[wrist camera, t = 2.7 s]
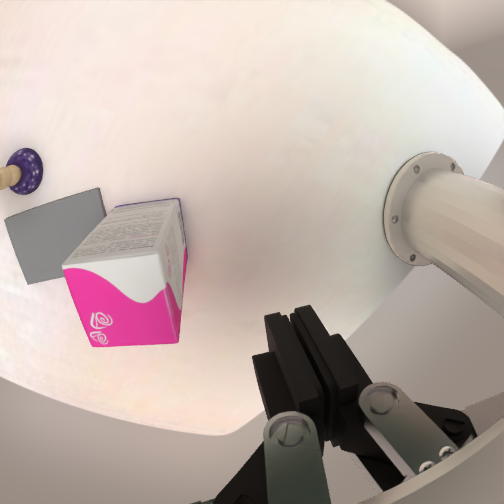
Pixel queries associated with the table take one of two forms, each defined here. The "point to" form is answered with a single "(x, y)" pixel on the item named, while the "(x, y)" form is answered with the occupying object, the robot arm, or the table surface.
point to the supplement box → (131, 275)
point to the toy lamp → (22, 172)
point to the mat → (53, 233)
